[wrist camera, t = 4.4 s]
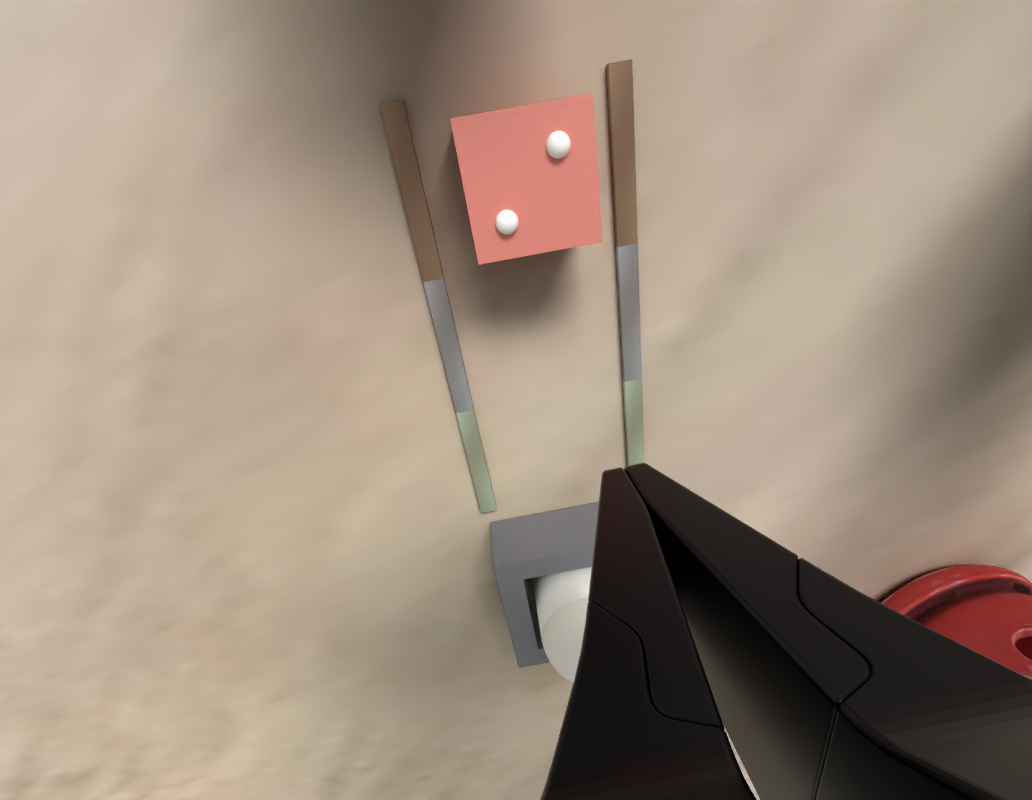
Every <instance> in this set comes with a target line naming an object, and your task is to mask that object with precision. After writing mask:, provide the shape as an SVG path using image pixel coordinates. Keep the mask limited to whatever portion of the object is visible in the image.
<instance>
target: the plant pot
mask: <svg viewBox="0 0 1032 800" xmlns="http://www.w3.org/2000/svg"><path fill="white" fill-rule="evenodd" d="M880 603H882V604H883V605H885V606H887V607H889V608H891V609H893V610H895V611H897V612H899V613H900V614H902V615H904V616H906V617H908V618H910V619H912V620H914V621H916V622H918V623H920V624H922V625H924V626H926V627H928V628H930V629H932V630H934V631H936V632H938V633H940V634H942V635H944V636H946V637H948V638H950V639H952V640H954V641H956V642H958V643H960V644H962V645H963V646H965V647H967V648H969V649H971V650H973V651H975V652H977V653H979V654H981V655H983V656H985V657H987V658H989V659H991V660H993V661H995V662H997V663H999V664H1001V665H1003V666H1005V667H1007V668H1009V669H1011V670H1013V671H1015V672H1017V673H1019V674H1021V675H1023V676H1025V677H1028V678H1030V679H1032V583H1031V582H1030V581H1029V580H1027V579H1026V578H1025V577H1023V576H1021V575H1020V574H1018V573H1015V572H1013V571H1010V570H1007V569H1004V568H1000V567H995V566H987V565H961V566H954V567H949V568H944V569H940V570H937V571H934V572H931V573H928V574H926V575H924V576H921V577H919V578H917V579H915V580H913V581H911V582H909V583H907V584H906V585H904V586H903V587H901V588H900V589H898V590H897V591H896V592H894V593H893V594H892V595H890V596H889V597H888V598H886V599H885V600H882V601H880Z"/></svg>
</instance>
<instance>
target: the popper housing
mask: <svg viewBox="0 0 1032 800" xmlns="http://www.w3.org/2000/svg"><path fill="white" fill-rule="evenodd" d="M598 506H599V502H597V503H591V504H586V505H581V506H575V507H570V508H565V509H559V510H554V511H549V512H544V513H538V514H533V515H528V516H522V517H517V518H512V519H506V520H501V521H496V522H490V527H491V541H492V556H493V568H494V571H495V575H496V579H497V583H498V587H499V591H500V595H501V599H502V603H503V607H504V611H505V615H506V619H507V623H508V627H509V631H510V635H511V639H512V643H513V647H514V651H515V655H516V659H517V663H518V666H519V668H521V667H526V666H531V665H536V664H541V663H547V662H550V661H549V659H548V657H547V656H546V653H545V651H544V648H543V644H542V639H541V633H540V627H539V621H538V614H537V608H536V602H533V603H531V600H530V595H529V590H528V586H527V581H526V579H529V578H534V577H540V576H545V575H550V574H556V573H561V572H566V571H571V570H577V569H582V568H587V567H592V560H593V551H594V542H595V533H596V524H597V515H598Z"/></svg>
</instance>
